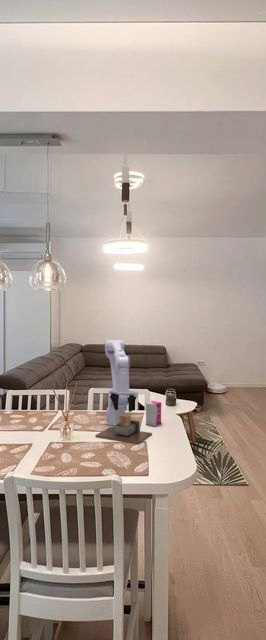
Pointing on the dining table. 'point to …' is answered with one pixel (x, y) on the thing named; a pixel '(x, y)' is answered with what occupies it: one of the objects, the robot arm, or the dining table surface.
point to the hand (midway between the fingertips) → (123, 410)
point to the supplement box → (153, 413)
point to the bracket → (125, 433)
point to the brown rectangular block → (125, 420)
